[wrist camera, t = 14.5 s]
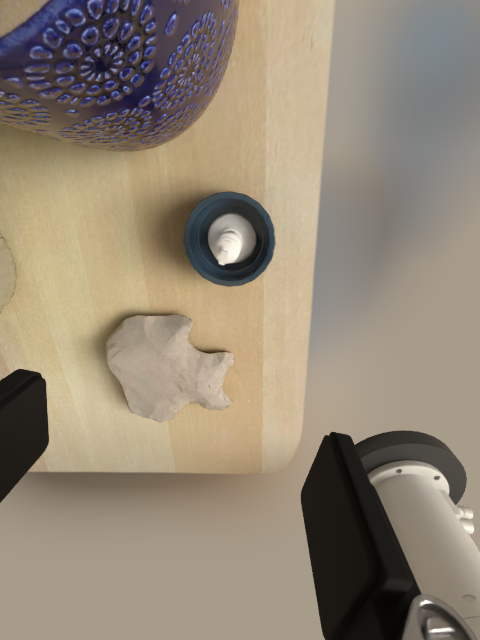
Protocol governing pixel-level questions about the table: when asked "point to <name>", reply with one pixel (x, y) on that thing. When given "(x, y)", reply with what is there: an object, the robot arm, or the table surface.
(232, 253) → the chess piece
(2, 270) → the canister
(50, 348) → the table surface
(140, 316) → the stone
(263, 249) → the glazed bowl
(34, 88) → the planter
